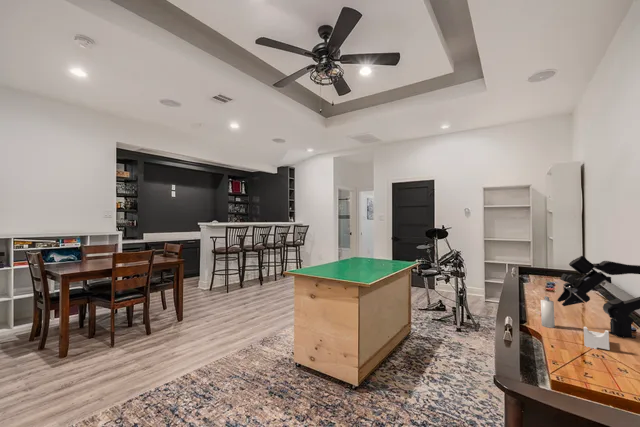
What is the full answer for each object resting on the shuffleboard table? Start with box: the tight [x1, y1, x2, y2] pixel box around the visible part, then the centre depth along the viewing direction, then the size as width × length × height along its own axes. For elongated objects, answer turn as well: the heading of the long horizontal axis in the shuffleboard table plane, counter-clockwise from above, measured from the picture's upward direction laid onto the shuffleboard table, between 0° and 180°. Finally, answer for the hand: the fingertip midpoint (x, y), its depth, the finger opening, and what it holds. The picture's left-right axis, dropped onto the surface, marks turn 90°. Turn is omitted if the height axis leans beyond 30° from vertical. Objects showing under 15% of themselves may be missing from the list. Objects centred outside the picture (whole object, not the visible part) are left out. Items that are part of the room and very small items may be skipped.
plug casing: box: [540, 295, 556, 329], centre depth 141 cm, size 5×5×14 cm
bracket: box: [583, 326, 610, 351], centre depth 118 cm, size 13×7×8 cm, turn 136°
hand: (560, 303), depth 139 cm, fingers open, 9 cm apart
